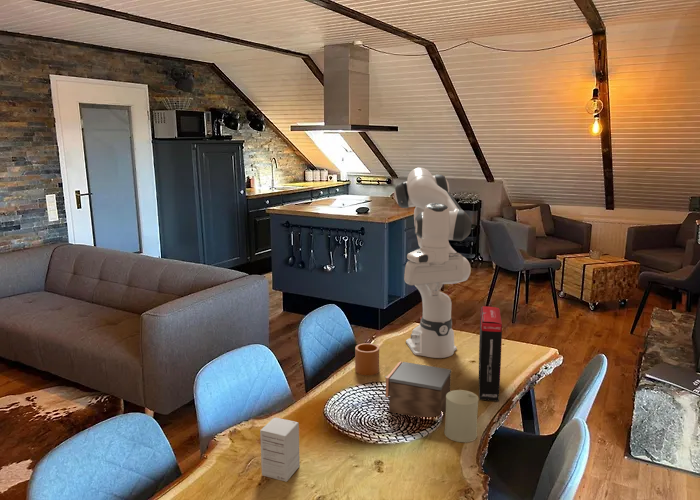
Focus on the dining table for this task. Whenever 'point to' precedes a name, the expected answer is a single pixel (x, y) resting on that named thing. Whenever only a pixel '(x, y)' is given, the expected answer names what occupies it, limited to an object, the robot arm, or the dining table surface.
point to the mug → (367, 359)
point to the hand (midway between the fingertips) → (433, 295)
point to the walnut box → (418, 399)
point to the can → (461, 416)
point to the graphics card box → (490, 353)
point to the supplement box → (280, 449)
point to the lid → (418, 376)
